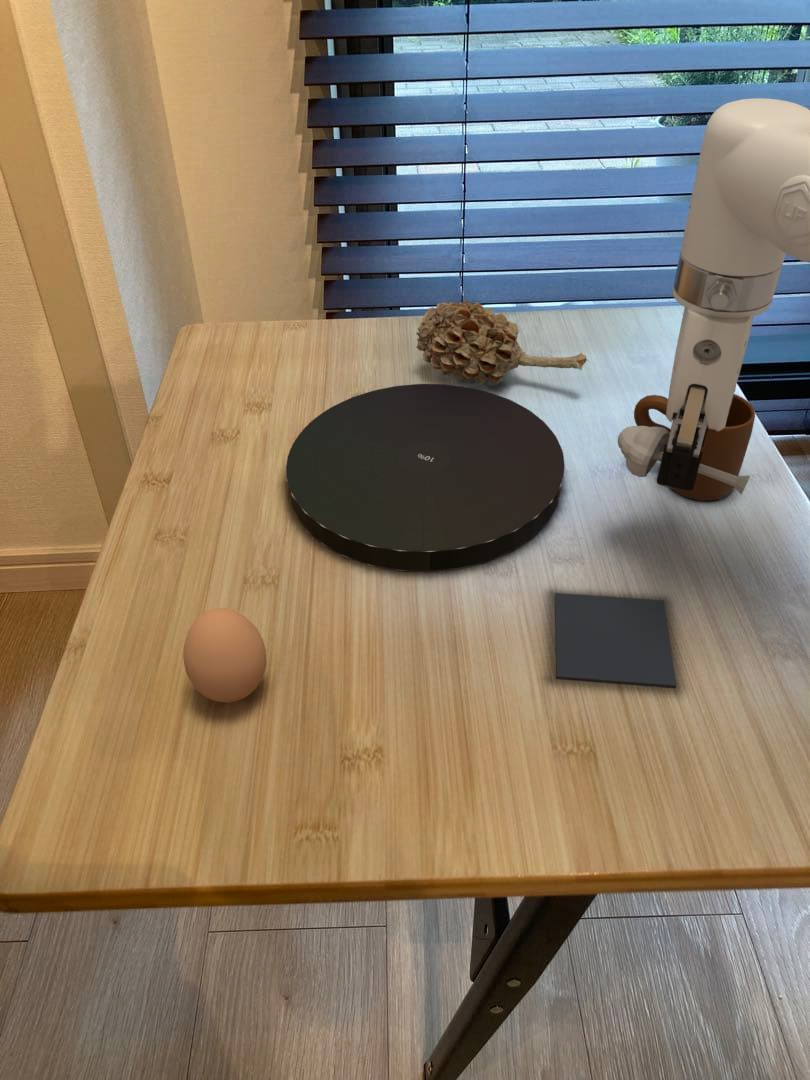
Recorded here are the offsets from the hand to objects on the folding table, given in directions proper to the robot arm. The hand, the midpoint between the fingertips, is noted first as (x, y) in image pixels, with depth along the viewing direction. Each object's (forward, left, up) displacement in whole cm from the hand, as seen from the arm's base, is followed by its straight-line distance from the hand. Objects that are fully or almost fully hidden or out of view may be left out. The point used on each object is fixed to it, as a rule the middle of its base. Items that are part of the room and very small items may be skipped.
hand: (680, 463), depth 78 cm
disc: (+26, -2, -10) cm, 28 cm away
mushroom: (0, +1, -1) cm, 1 cm away
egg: (+31, +31, -10) cm, 45 cm away
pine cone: (+24, -24, -10) cm, 36 cm away
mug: (0, -12, -10) cm, 16 cm away
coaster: (+2, +14, -10) cm, 17 cm away
